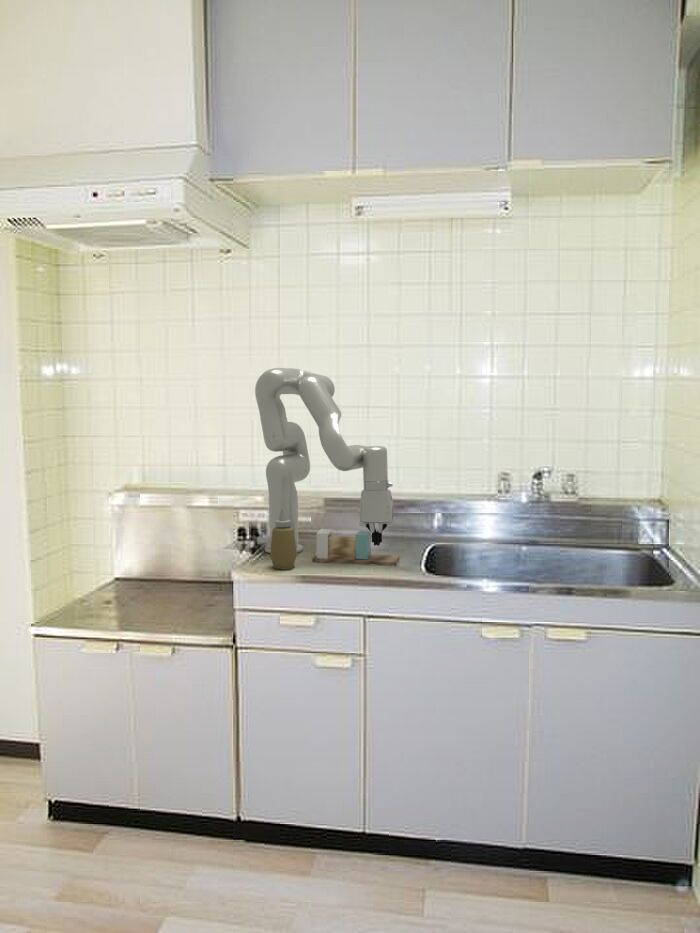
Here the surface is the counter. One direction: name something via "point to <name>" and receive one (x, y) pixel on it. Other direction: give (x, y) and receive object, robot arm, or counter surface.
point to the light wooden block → (342, 545)
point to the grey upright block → (323, 542)
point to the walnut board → (351, 559)
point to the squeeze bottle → (283, 543)
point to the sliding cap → (363, 544)
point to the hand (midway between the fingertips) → (377, 544)
